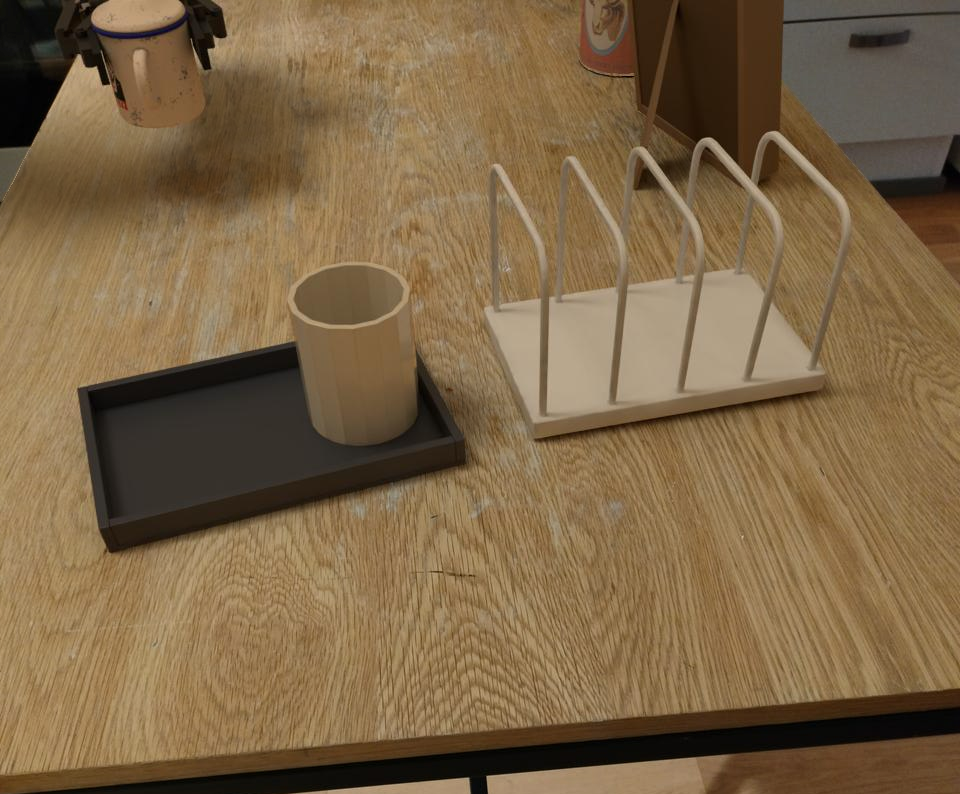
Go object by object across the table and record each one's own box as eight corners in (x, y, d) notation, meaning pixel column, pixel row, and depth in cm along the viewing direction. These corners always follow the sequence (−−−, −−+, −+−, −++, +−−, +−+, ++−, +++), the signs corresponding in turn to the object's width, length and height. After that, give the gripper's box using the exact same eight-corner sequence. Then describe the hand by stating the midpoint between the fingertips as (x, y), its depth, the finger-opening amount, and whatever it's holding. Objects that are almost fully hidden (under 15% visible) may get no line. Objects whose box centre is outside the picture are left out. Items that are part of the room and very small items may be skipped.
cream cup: (325, 460, 76) (303, 339, 68) (299, 395, 81) (276, 275, 73) (433, 434, 78) (425, 313, 69) (401, 372, 83) (389, 252, 75)
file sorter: (740, 285, 91) (777, 110, 79) (822, 394, 80) (879, 212, 68) (482, 323, 88) (479, 147, 76) (532, 443, 77) (538, 261, 65)
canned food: (561, 64, 125) (566, -46, 115) (608, 36, 130) (616, -70, 121) (636, 84, 120) (647, -28, 111) (681, 55, 126) (695, -54, 116)
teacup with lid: (123, 96, 101) (85, -33, 92) (210, 89, 102) (181, -40, 93) (111, 147, 94) (69, 12, 85) (205, 139, 95) (174, 4, 86)
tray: (108, 552, 70) (98, 529, 68) (86, 411, 81) (76, 387, 79) (466, 463, 76) (465, 439, 74) (401, 342, 86) (399, 318, 84)
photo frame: (667, 104, 116) (700, -159, 97) (776, 180, 104) (839, -105, 84) (559, 129, 113) (571, -139, 93) (659, 211, 100) (697, -80, 81)
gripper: (232, 11, 109) (274, 87, 95) (34, 38, 104) (49, 122, 91) (217, -69, 103) (259, 0, 90) (7, -43, 99) (19, 33, 85)
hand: (153, 61), depth 90 cm, fingers closed on teacup with lid, 9 cm apart
